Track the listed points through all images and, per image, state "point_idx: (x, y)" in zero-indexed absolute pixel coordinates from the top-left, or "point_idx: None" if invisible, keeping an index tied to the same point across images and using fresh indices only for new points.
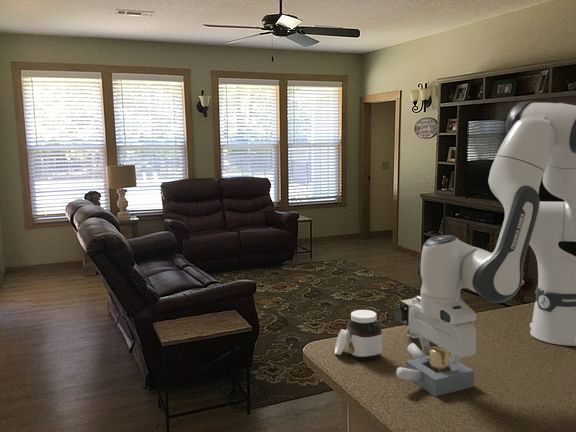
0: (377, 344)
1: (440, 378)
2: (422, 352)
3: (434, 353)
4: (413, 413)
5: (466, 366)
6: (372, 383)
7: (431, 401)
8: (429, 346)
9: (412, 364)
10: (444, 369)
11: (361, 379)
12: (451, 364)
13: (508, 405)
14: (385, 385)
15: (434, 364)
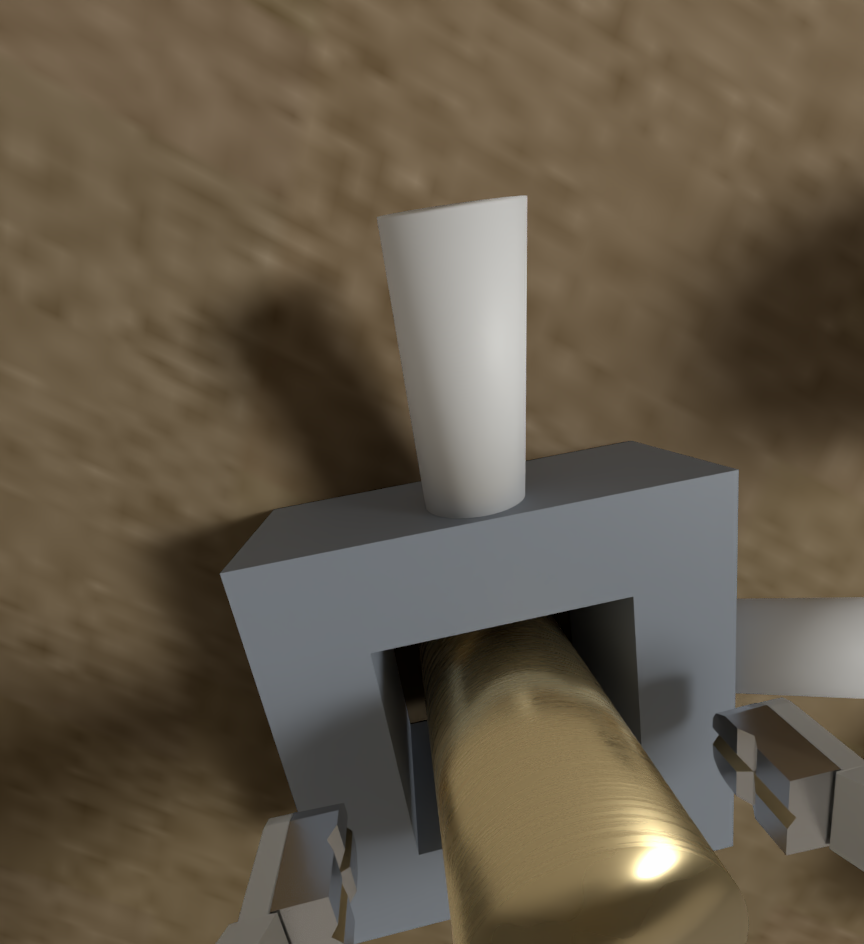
0: None
1: (241, 638)
2: (783, 698)
3: (535, 854)
4: (19, 206)
5: (430, 920)
6: (631, 86)
7: (208, 452)
8: (822, 840)
9: (639, 499)
10: (431, 745)
11: (739, 9)
12: (248, 900)
13: (83, 876)
14: (557, 196)
15: (485, 704)
